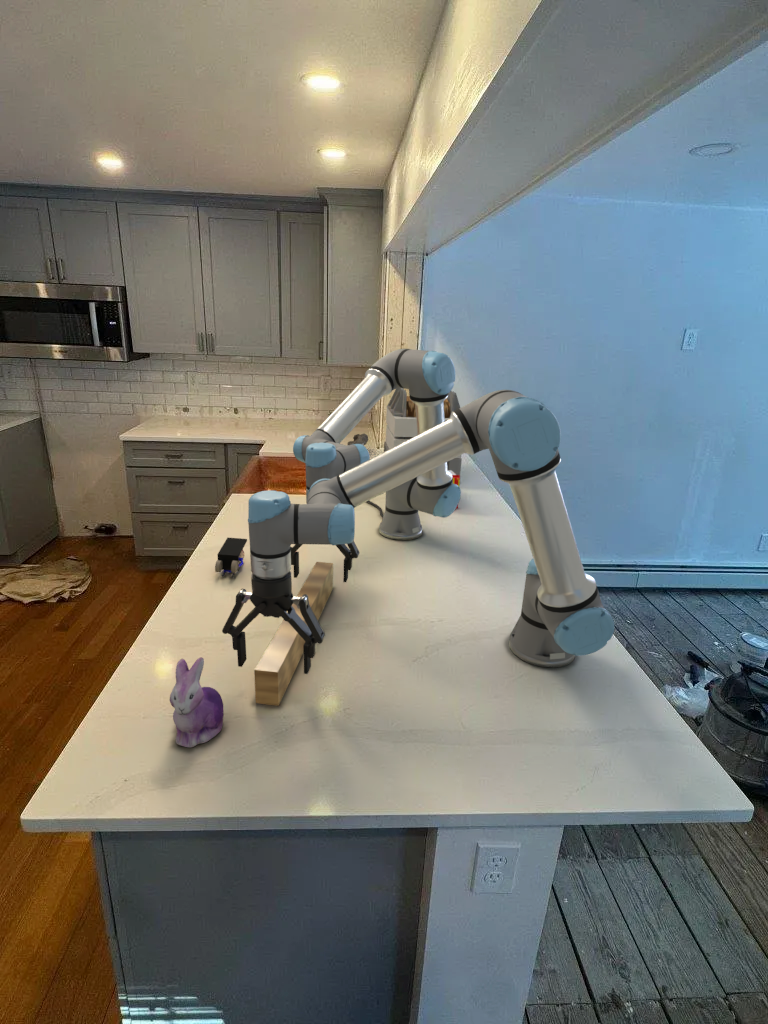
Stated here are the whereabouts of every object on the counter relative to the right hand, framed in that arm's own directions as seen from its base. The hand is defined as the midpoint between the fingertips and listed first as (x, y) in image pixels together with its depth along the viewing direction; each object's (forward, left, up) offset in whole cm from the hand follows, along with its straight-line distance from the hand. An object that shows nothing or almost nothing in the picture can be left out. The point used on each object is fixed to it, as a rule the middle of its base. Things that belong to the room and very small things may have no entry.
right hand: (274, 666), depth 115 cm
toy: (-113, -81, -6) cm, 139 cm away
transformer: (-128, -115, -6) cm, 172 cm away
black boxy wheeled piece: (-12, -58, -6) cm, 59 cm away
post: (-13, -15, -5) cm, 21 cm away
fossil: (-121, -163, -6) cm, 203 cm away
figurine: (+17, +4, -6) cm, 18 cm away
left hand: (-27, -30, 0) cm, 41 cm away
